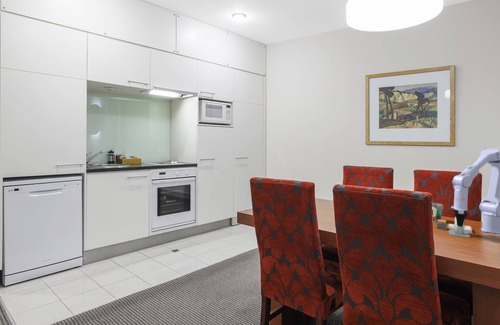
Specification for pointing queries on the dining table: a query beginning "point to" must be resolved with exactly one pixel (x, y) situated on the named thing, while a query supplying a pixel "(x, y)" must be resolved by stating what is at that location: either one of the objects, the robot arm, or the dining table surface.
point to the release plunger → (442, 221)
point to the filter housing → (452, 226)
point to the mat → (459, 234)
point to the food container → (437, 211)
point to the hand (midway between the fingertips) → (459, 225)
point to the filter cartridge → (458, 228)
